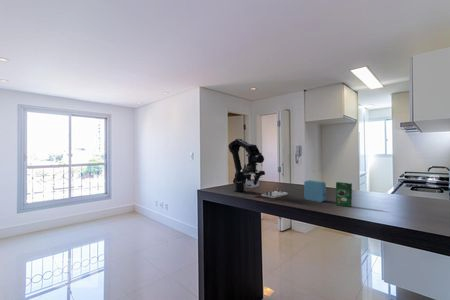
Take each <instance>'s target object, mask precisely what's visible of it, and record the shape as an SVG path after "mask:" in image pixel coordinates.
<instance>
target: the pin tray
mask: <svg viewBox="0 0 450 300" xmlns="http://www.w3.org/2000/svg"><path fill="white" fill-rule="evenodd" d="M288 194H289V193H288V192H285V191H284V190H283V188H282V189H280V188H276V190H275V191H269V190H266V192H265V193H261V197H266V198H269V199H275V198H278V197H283V196H287V195H288Z"/></svg>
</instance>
